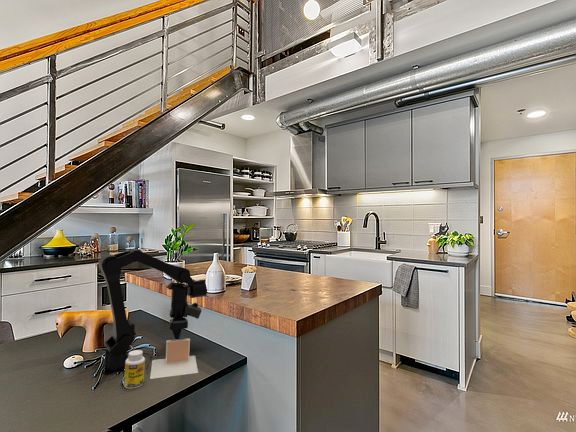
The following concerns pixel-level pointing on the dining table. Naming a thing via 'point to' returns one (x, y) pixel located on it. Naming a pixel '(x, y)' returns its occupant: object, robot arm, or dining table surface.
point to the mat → (173, 368)
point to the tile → (177, 351)
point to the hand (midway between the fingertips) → (177, 340)
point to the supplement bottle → (134, 369)
